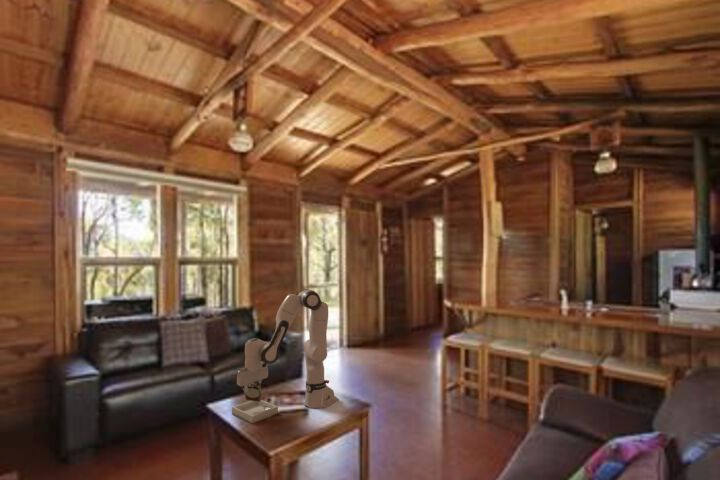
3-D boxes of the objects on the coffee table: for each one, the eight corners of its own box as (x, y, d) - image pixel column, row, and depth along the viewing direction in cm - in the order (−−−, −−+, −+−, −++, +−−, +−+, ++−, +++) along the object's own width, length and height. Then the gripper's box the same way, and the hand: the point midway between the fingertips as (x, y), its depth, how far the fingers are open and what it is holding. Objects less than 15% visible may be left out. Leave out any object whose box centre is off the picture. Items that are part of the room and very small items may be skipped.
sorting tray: (257, 404, 257) (257, 398, 257) (277, 413, 244) (277, 406, 244) (231, 414, 243) (231, 407, 243) (252, 423, 230) (252, 416, 230)
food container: (267, 395, 249) (264, 381, 246) (262, 402, 243) (259, 387, 240) (249, 393, 253) (246, 379, 250) (244, 399, 247) (241, 385, 244)
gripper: (240, 371, 235) (240, 395, 235) (269, 362, 251) (270, 385, 251) (234, 369, 239) (234, 393, 239) (263, 361, 255) (263, 383, 255)
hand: (252, 389), depth 245 cm, fingers closed on food container, 6 cm apart
